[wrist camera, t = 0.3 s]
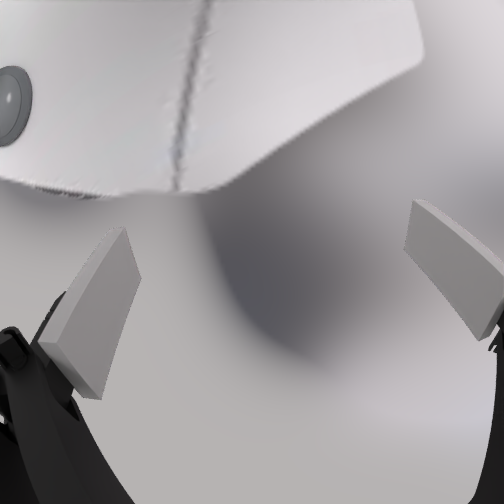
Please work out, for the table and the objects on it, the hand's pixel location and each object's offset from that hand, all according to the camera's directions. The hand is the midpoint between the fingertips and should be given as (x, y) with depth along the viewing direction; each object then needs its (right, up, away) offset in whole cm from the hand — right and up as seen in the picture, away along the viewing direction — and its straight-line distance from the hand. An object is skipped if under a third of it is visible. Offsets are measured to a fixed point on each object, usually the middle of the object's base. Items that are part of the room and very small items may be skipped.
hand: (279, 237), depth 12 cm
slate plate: (-42, +24, +15) cm, 50 cm away
